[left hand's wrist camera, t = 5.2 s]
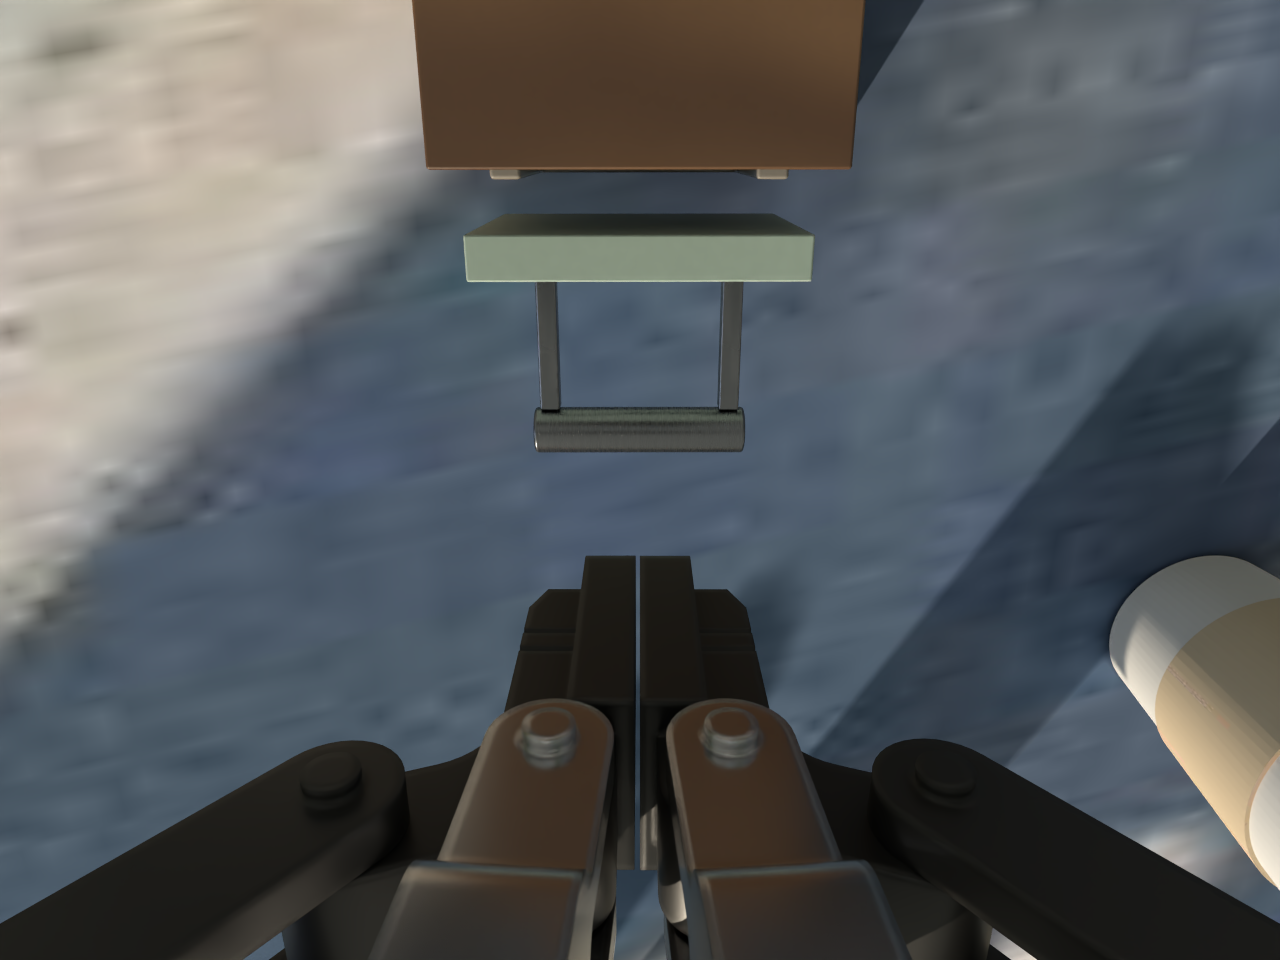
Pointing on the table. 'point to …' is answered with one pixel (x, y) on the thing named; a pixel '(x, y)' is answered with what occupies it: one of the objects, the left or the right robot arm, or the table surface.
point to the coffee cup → (1213, 686)
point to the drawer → (639, 255)
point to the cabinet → (638, 83)
